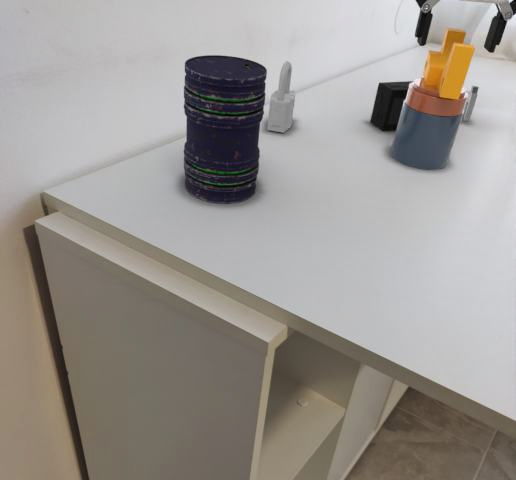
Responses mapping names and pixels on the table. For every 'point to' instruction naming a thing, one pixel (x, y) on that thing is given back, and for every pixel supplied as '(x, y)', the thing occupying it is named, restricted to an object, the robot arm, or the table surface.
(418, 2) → the robot arm
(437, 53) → the orange stepped block
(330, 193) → the table surface
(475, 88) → the caliper
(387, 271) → the table surface
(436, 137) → the lidded canister
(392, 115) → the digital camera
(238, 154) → the storage jar
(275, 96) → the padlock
